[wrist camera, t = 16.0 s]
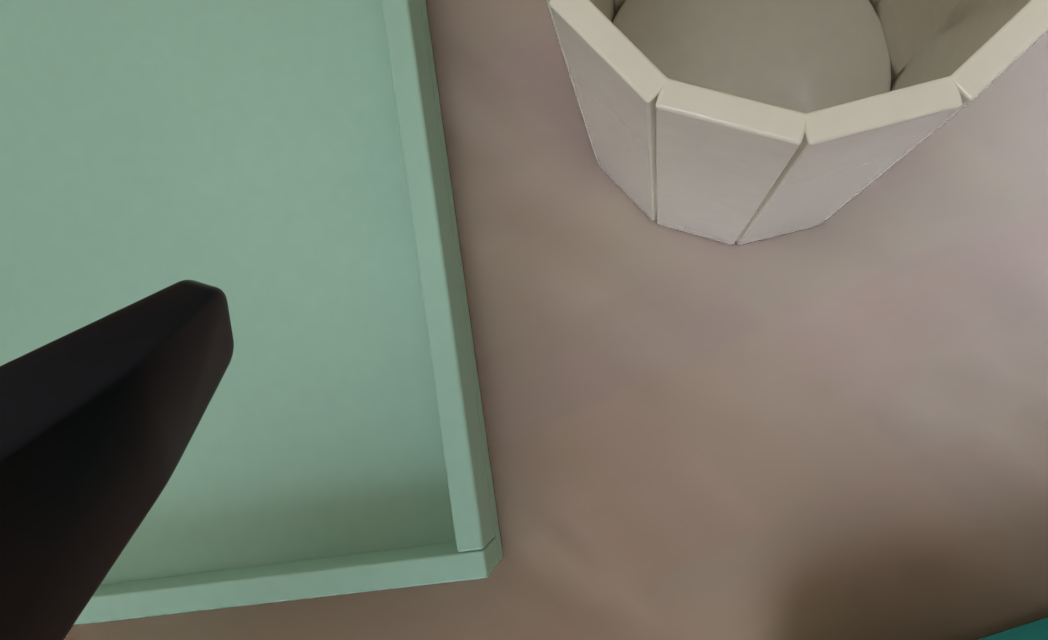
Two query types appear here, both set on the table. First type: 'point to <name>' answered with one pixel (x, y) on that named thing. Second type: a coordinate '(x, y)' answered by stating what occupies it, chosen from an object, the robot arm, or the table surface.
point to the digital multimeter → (1024, 632)
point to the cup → (774, 97)
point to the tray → (259, 281)
